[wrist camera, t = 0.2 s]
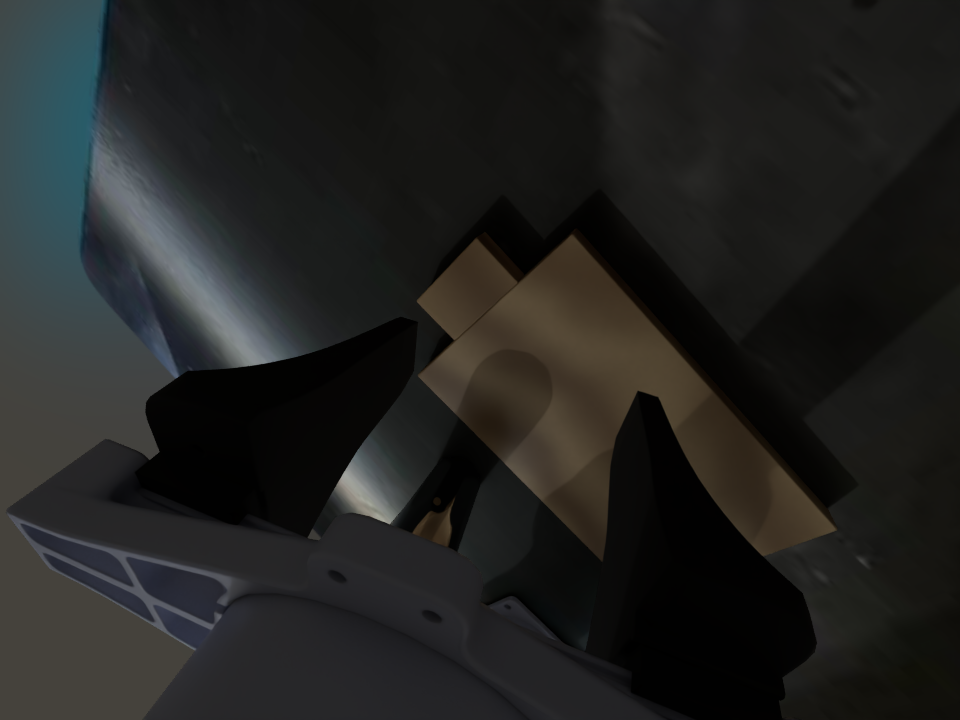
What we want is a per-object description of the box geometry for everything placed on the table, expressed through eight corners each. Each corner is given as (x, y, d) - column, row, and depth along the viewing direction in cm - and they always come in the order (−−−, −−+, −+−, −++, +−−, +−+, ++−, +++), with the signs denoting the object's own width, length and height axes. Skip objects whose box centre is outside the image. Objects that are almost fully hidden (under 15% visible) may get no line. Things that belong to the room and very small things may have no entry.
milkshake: (410, 476, 33) (328, 598, 24) (450, 435, 30) (374, 555, 22) (459, 516, 33) (395, 650, 25) (503, 478, 30) (449, 615, 22)
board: (639, 580, 31) (639, 600, 29) (392, 329, 28) (380, 338, 27) (828, 509, 24) (839, 530, 23) (534, 179, 22) (527, 182, 21)
